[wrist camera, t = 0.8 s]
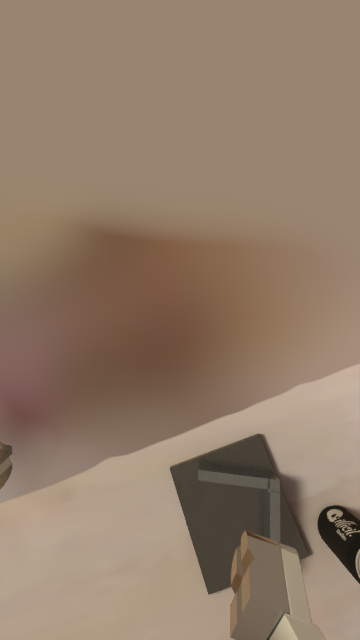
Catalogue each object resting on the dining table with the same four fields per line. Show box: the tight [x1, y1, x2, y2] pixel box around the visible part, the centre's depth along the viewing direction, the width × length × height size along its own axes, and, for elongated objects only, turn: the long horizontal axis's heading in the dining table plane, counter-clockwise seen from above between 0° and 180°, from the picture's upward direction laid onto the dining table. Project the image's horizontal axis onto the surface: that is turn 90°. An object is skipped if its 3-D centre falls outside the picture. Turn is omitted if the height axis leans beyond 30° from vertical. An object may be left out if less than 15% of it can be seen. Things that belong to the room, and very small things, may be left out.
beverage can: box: [318, 506, 360, 583], centre depth 41 cm, size 7×7×12 cm
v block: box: [170, 434, 309, 594], centre depth 46 cm, size 18×20×5 cm
